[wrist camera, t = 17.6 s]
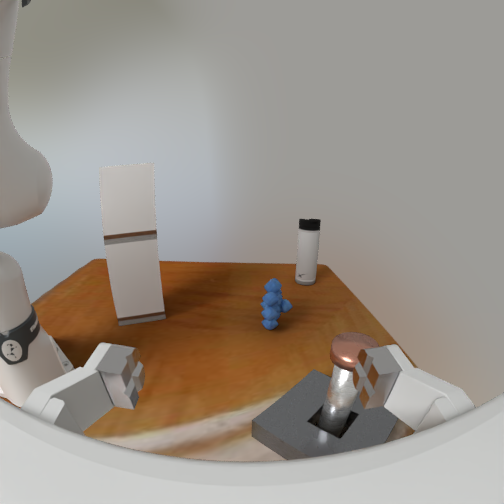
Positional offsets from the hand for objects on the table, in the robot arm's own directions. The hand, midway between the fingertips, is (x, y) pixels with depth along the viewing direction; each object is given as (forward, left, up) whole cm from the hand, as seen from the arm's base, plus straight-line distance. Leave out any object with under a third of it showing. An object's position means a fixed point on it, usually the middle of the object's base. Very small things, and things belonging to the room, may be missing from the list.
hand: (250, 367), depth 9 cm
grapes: (-26, +35, -27) cm, 51 cm away
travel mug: (-36, +62, -27) cm, 76 cm away
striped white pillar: (-53, +16, -27) cm, 61 cm away
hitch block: (-2, +18, -27) cm, 32 cm away
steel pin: (-2, +18, -27) cm, 32 cm away
